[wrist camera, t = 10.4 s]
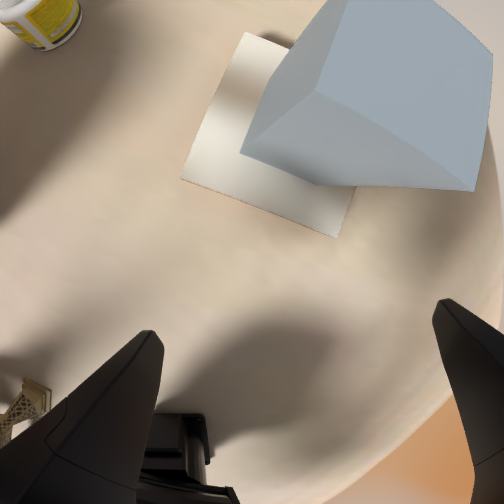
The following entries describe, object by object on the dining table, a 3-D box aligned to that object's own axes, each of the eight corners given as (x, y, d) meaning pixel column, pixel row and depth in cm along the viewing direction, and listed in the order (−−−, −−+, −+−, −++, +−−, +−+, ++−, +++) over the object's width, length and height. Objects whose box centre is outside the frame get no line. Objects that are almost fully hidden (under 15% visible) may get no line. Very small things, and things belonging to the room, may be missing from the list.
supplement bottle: (86, -5, 15) (52, -66, 7) (81, 41, 16) (35, -16, 8) (34, 14, 14) (-13, -34, 6) (26, 60, 15) (-32, 19, 7)
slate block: (317, 185, 18) (474, 191, 7) (239, 153, 17) (314, 90, 6) (343, 113, 18) (492, 54, 6) (269, 78, 16) (364, -45, 5)
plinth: (321, 232, 21) (336, 238, 19) (182, 179, 19) (179, 178, 17) (366, 107, 20) (384, 100, 18) (240, 47, 18) (245, 31, 16)
